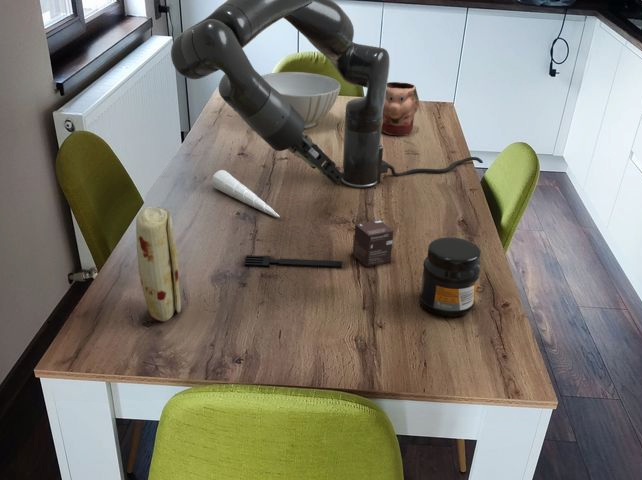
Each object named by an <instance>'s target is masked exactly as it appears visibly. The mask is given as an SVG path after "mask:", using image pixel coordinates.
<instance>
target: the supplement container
mask: <svg viewBox="0 0 642 480" xmlns="http://www.w3.org/2000/svg"><path fill="white" fill-rule="evenodd" d="M481 255H482V250H481V249H480V247H479V246H478V245H477V244H476V243H474V242H472V241H470V240H467V239H464V238H459V237H453V236H452V237H451V236H449V237H448V236H447V237H439V238H436V239H433V240H432V241H431V242H430V243H429V244H428V249H427V256H426V257H425V259H424V260H423V264H422V267H423V271H422V277H421V283H420V284H421V285H420V292H419V303H420V304H421V306H422V307H423V308H424V309H425V310H426V311H428V312H429V313H432V314H434V315H437V316H440V317H446V318H448V317H449V318H455V317H461V316H463V315H466V314H468V313H470V312H471V310H472V309H473V308H474V306H475V301H476V295H477V289H478V284H479V278H480V275H481V270H482V267H481V265H480V260H481Z"/></svg>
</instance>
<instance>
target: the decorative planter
mask: <svg viewBox="0 0 642 480" xmlns="http://www.w3.org/2000/svg"><path fill="white" fill-rule="evenodd" d="M419 106H420V98H419V95H418V91H417V87H416V85H415V84H413V83H409V82H400V81H389V82H387V89H386V99H385V104H384V108H383V116H382V128H381V132H383V133H385V134H387V135H393V136H408V135H410V134H411V133H412V131H413V128H414V120H415V115H416V113H417V112H418V109H419Z"/></svg>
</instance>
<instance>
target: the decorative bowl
mask: <svg viewBox="0 0 642 480" xmlns="http://www.w3.org/2000/svg"><path fill="white" fill-rule="evenodd" d="M260 76H261V77H262V78H263V79H264V80H265V81H266V82H267V83H268V84H269V85H270V86H271V87H273V88H274V89H275V90H277V91H278V92H279V93H280V94H281V95H282V96H283V97H284V98H285V99H286V100H287V101H288V102H289V103H290V104H291V105H292V106H293V107H294V108H295V110H296V111H297V112H298V113H299V114H300V115H301V116H302V117H303V118H304V121H305V127H304V129H309V128H312V127H314V126H315V125H316V124H317V122H318V121H319V120H321V119H322V118H325V116H326V115H327V114H328V113H329V112H330V111H331V109H333V106H335V103H336V102H337V99H338V96H339V94H340V91H341V83H340V82H339V81H338V80H337V79H335V78H334V77H333V78H332V77H330V76H326V75H323V74H318V73H312V72H301V71H281V72H280V71H279V72H271V73H266V74H263V75H262V74H261V75H260Z"/></svg>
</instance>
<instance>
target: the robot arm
mask: <svg viewBox="0 0 642 480" xmlns="http://www.w3.org/2000/svg"><path fill="white" fill-rule="evenodd" d="M281 19H284V20H286V21H287V22H288V23H289V24H290V25H291V26H292V27H294V28H295V29H296V30H297V31H298V32H299V33H300V34H301V35H302V36H304V37H305V38H306V39H307V41H308V42H309V43H310V45H312V46H313V47H314V48H315V49H316V50H317V51H318V52H319V53H321V54H322V56H324V57H325V58H326V59H327V60H328V62H330V63H331V64H332V66H333V67H334V69H335V70H336V71H337V73H338V74H339V76H340V77H341V79H342V80H343V81H344V82H345V83H347V84H348V85H351V86H356V87H362V88H366V94H365V96H362V97H356V98H353V99H350V100H349V101H347V102H346V104H345V116H344V136H343V137H344V138H343V153H342V154H343V155H342V164H340V165H341V167H340V169H341V170H340V171H339V169H337V167H336V162H334V161H333V160H332V159H331V158H330V157H329V156H328V155H326V153H325V152H324V150H323V149H322V148H321V147H320V146H319V145H318V144H316V143H315V142H314V141H313V138H311V137H310V136H309V135H308V134H305V133H304V130H305V128H304V127H305V121H304V118H303V117H302V116H301V115H300V114H299V113H298V112H297V111H296V110H295V108H294V107H293V106H292V105H291V104H290V103H289V102H288V101H287V100H286V99H285V98H284V97H283V96H282V95H281V94H280V93H279V92H278V91H277V90H275V89H274V88H273V87H271V86H270V85H269V84H268V83H267V82H266V81H265V80H264V79H263V78H262V77H261V76H262V75H260V74H259V72H258V71H257V70H256V69H255V68H254V67H253V65H252V63H251V62H250V59H249V58H248V56H247V54H246V52H245V51H244V48H245V47H246V46H247V45H248V44H249V43H250V42H252V41H253V40H255V38H256V37H258V35H260V34H261V33H262V32H264V31H266V29H268V28H269V27H271V26H272V25H273V24H275V23H276V22H279V21H280V20H281ZM354 37H355V29H354V24H353V22H352V21H351V18H350V17H349V16H348V14H347V13H346V12H345V11H344V10H343V9H342V7H341V6H340V5H339V4H337V3H336V2H335V1H333V0H226V1H225V2H224V3H222V4H221V5H219V6H218V7H217V8H216V9H214V11H213V12H212V13H211V14H209V15H208V16H207V17H205V18H204V19H202V20H201V21H198V22H197V23H196V24H194V25H192V26H190V27H189V28H187V29H186V30H184V31H182V32H181V33H180V34H178V35H177V36H176V37H175V39H174V40H173V42H172V44H171V49H170V59H171V62H172V65H173V67H174V68H175V70H176V71H177V73H178V74H180V75H181V76H182V77H185V78H187V79H190V80H201V79H203V78H206V77H208V76H209V75H212V74H214V73H216V72H218V71H221V72H223V73H224V74H223V76H222V77H221V78H220V81H219V83H218V84H219V85H218V93H219V96H220V97H221V99H222V100H223V101H224V102H225V103H226V104H227V105H228V106H229V107H231V109H232V110H234V112H236V113H237V114H238V115H239V116H240V117H241V118H242V119H243V120H244V122H245V123H246V124H247V125H248V126H249V128H250V129H251V130H253V131H254V132H255V133H256V134H257V135H258V136H259V138H261V139H262V140H263V141H264V142H265V143H266V144H268V146H269V147H270V148H272V149H273V150H274V151H277V152H283V151H289V152H290V154H291V153H292V155H294V156H295V157H297V158H300V159H301V160H302V161H304V162H305V163H306V164H307V165H308V166H309V167H310V168H311V169H313V170H314V169H315V170H316V169H317V170H318V171H319V172H320V173H321V174H323V175H324V176H326V178H327V179H328V180H329V181H330V182H331V183H333V184H334V185H338V184H339V183H340V181H341V182H342V183H343V185H346V186H348V187H351V188H359V189H365V188H371V187H374V186H376V185H377V184H380V183H381V181H382V179H381V178H382V174H387V173H389V170H390V172H391V175H392V176H393V177H394V176H395V177H402V176H408V175H411V174H414V173H433V174H441V173H447V172H449V171H451V170H452V169H454V167H455V166H457V165H461V164H464V163H467V162H470V161H476V162H478V163H479V164H483V163H484V161H483V160H482V159H481V158H480V157H477V156H470V157H466V158H463V159H460V160H457V161H454V162H453V163H452V164H450V165H449V166H448V167H445V168H437V169H436V168H413V169H409V170H406V171H404V172H399V173H398V172H396V170H395V167H394V166H393V165H391V164H389V163H388V162H387V161H385V160H384V159H383V155H384V146H383V145H381V141H382V140H381V139H382V124H383V117H382V116H383V108H384V104H385V99H386V89H387V83H388V81H389V75H390V74H389V73H390V63H391V61H390V55H389V52H388V50H387V49H385V48H384V47H380V46H379V47H378V46H373V45H367V44H362V43H361V44H360V43H355V42H354Z"/></svg>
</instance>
